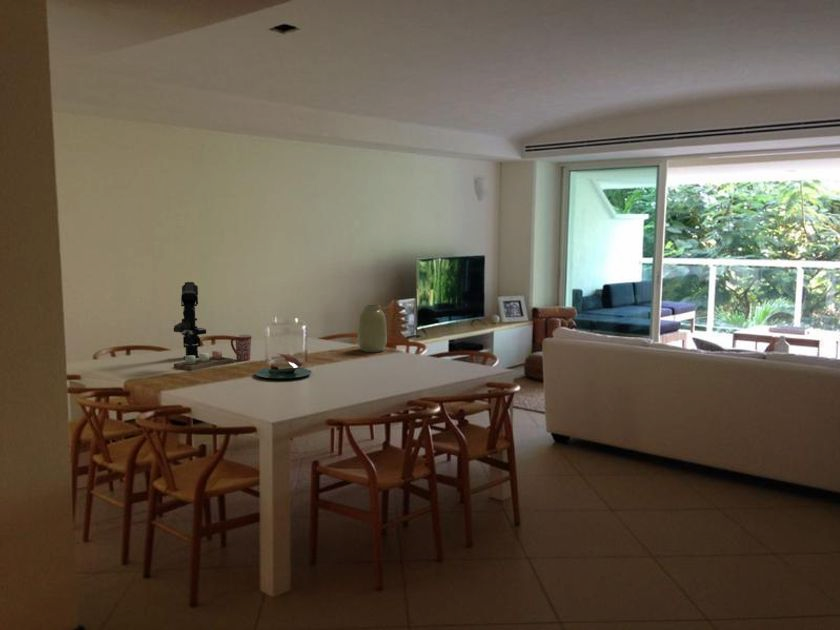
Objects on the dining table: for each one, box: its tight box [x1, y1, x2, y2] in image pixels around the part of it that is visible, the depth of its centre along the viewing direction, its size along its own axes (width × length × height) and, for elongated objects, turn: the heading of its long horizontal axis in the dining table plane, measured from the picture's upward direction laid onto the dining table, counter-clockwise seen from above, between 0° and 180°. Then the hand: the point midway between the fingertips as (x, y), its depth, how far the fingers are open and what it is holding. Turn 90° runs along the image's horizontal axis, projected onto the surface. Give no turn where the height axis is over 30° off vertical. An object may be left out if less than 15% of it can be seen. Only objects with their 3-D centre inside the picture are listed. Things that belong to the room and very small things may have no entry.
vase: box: [357, 304, 388, 353], centre depth 440 cm, size 17×17×27 cm
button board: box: [173, 356, 234, 371], centre depth 389 cm, size 14×28×2 cm, turn 148°
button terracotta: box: [211, 350, 223, 360], centre depth 396 cm, size 5×5×4 cm
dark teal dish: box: [254, 353, 312, 379], centre depth 365 cm, size 28×28×11 cm
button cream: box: [198, 352, 210, 362], centre depth 389 cm, size 5×5×4 cm
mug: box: [230, 334, 252, 362], centre depth 405 cm, size 13×9×14 cm
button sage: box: [184, 355, 197, 365], centre depth 381 cm, size 5×5×4 cm
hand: (190, 346), depth 381 cm, fingers closed
